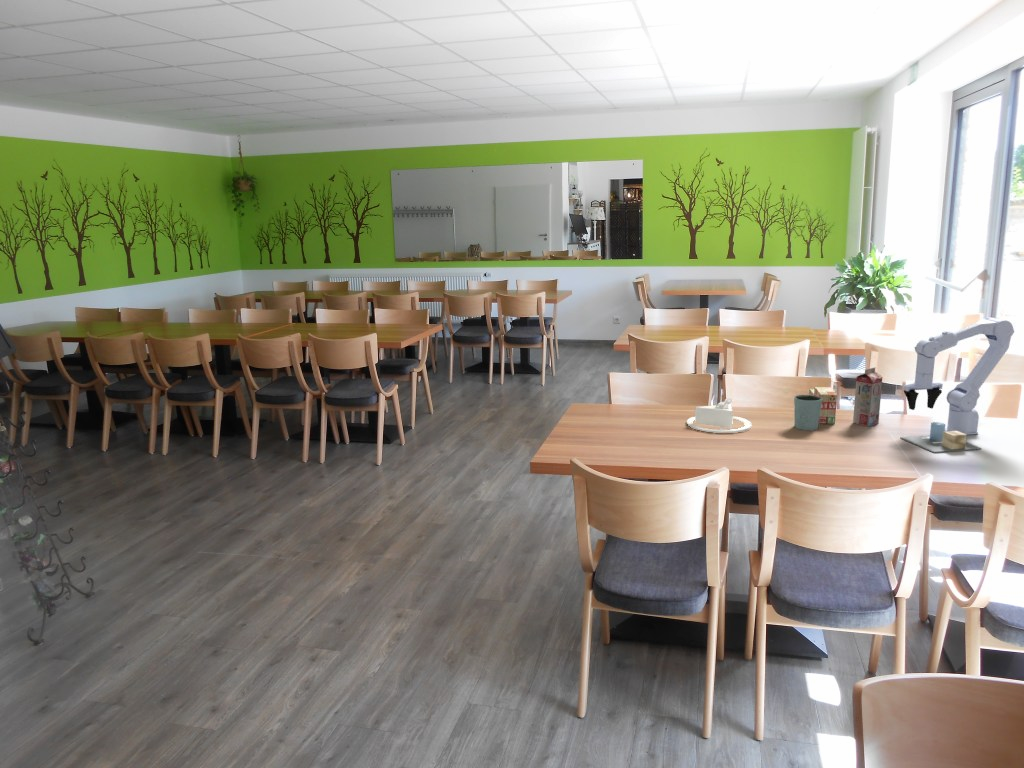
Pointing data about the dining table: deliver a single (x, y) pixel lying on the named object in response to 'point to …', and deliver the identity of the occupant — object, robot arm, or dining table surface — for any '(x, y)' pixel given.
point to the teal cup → (807, 411)
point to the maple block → (954, 440)
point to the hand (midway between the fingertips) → (920, 408)
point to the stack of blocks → (826, 403)
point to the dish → (717, 418)
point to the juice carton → (867, 398)
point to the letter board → (934, 444)
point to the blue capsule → (937, 431)
